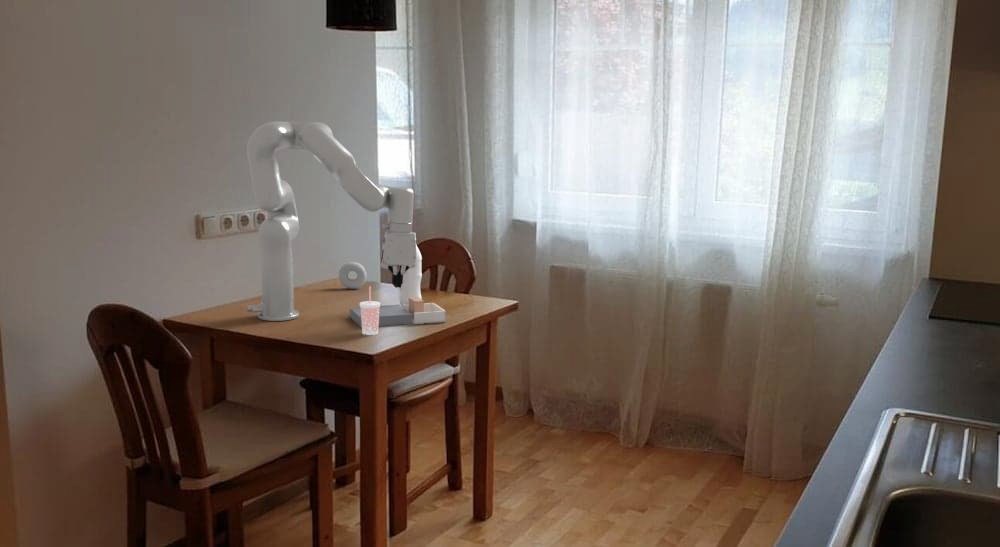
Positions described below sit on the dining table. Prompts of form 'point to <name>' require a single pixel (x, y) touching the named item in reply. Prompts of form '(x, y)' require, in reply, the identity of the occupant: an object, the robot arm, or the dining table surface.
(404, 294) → the water bottle
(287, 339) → the dining table surface
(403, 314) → the slate board
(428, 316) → the tray
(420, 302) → the terracotta tile
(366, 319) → the beverage cup
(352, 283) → the donut
